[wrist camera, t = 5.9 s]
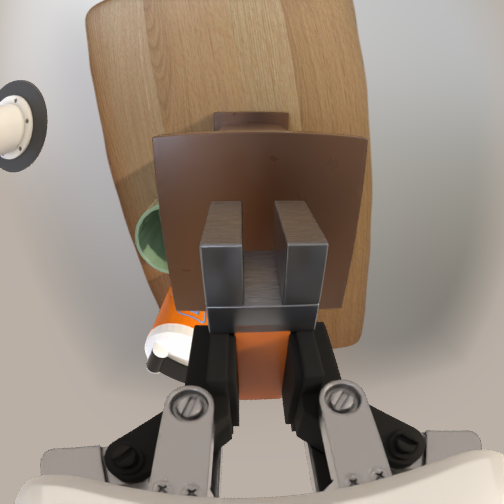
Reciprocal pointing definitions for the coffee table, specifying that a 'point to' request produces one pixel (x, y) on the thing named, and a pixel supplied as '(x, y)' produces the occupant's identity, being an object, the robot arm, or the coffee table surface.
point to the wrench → (262, 289)
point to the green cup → (151, 238)
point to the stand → (256, 192)
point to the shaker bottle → (172, 339)
